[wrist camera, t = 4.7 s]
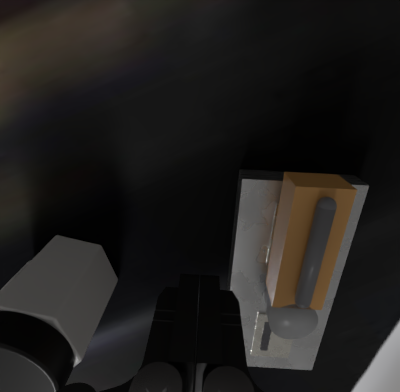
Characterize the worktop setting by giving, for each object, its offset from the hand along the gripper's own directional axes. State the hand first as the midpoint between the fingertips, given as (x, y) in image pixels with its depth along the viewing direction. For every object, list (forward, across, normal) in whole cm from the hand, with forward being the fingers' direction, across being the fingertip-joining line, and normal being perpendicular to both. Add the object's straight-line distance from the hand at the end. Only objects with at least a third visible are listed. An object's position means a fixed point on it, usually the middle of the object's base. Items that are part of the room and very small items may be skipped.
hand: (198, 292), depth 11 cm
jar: (+15, +13, +12) cm, 23 cm away
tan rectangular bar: (+12, -8, +6) cm, 15 cm away
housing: (+15, -8, +11) cm, 20 cm away
